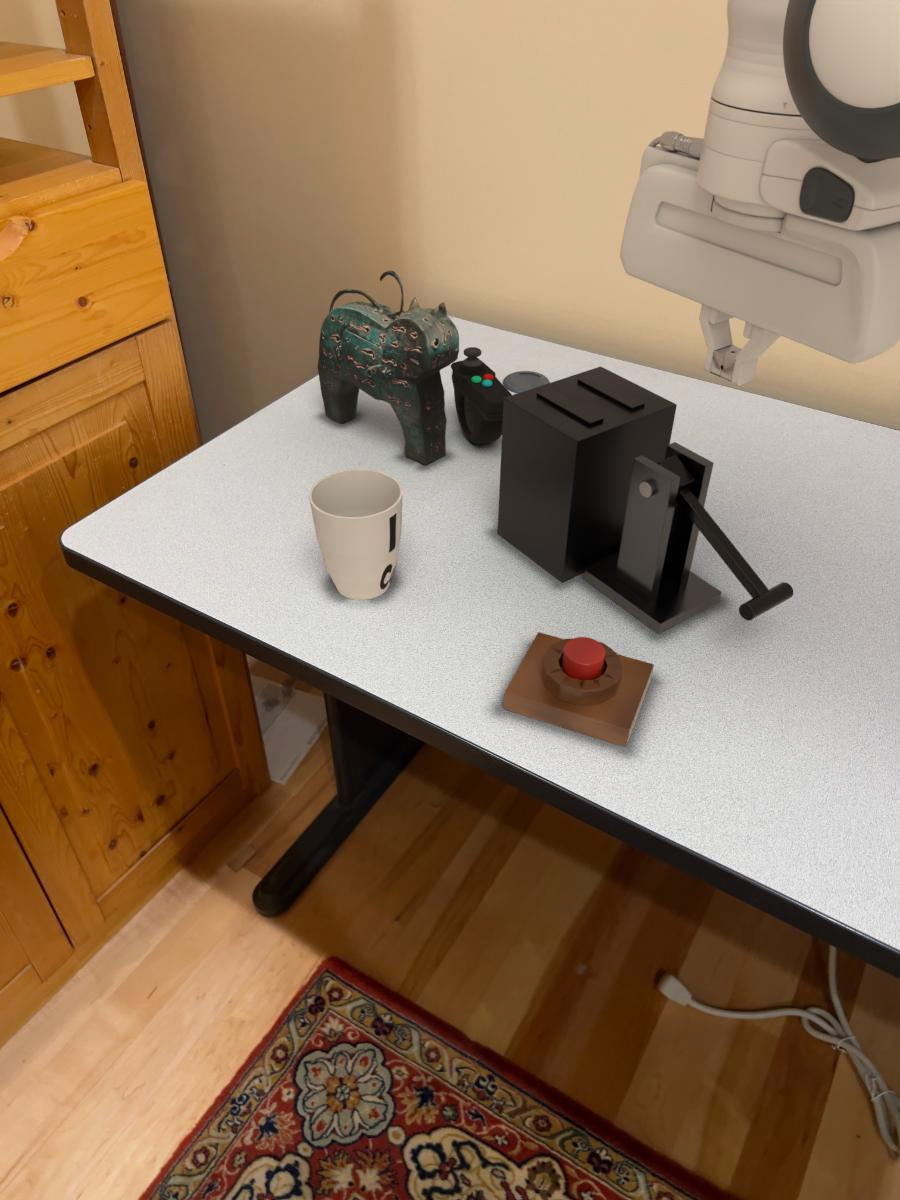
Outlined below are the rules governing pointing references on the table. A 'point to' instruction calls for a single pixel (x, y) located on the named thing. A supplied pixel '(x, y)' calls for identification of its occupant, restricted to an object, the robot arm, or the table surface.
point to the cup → (358, 529)
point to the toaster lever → (726, 548)
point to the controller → (478, 398)
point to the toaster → (575, 465)
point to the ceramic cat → (389, 366)
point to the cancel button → (583, 658)
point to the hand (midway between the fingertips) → (727, 376)
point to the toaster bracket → (657, 547)
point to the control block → (579, 692)
